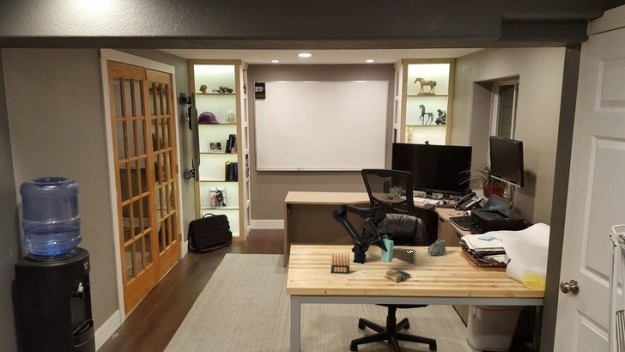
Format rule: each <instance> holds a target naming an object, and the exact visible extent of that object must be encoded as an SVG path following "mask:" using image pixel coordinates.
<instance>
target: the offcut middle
mask: <svg viewBox="0 0 625 352" xmlns="http://www.w3.org/2000/svg"><path fill="white" fill-rule="evenodd" d="M384 275H385V276H388V277H390V278H393V279H395V280H397V279H400V278H401V277H400V278H395V277H393V276H390V275H388V274H386V272H385V273H384Z"/></svg>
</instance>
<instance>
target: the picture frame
mask: <svg viewBox="0 0 625 352" xmlns="http://www.w3.org/2000/svg"><path fill="white" fill-rule="evenodd" d="M407 251H408V252H409V251H413V252H411V253H410V252H409V253H408V252H407ZM415 254H416V253H415V249H413V248H412V249H411V248H402V247H393V257H392V260H394V259H397V260H399V261H401V262H397V261H395V262H393V261H392V262H386V261H384V260H382V261H383V263H387V264H388V263H389V264H399V265H400V264H401V265H410V266H411V265H414V266H416V255H415ZM402 261H403V262H402Z"/></svg>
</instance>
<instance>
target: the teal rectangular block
mask: <svg viewBox="0 0 625 352" xmlns="http://www.w3.org/2000/svg"><path fill="white" fill-rule="evenodd" d="M394 241H395V240H391V239H390V240H388V239H386V238H385V239H383V243H384V244H385V246H386V248H387V252H386V251H384V250H383V249H381V248H380V249H381V250H380V251H381V253H380V260H381V261H385V263H387V262H393V259H392V257H393V248H394Z"/></svg>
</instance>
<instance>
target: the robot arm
mask: <svg viewBox="0 0 625 352" xmlns="http://www.w3.org/2000/svg"><path fill="white" fill-rule="evenodd" d="M348 213H351V214H355V215H357V216H358V217H359V218H361V219H362V220H365V221H364V226H367V225H368V227H369V229H370V230H371V231H370V234H372V235H373V236H371V237H369V238H368V239H367V238H366V236H365V235H364V236H361V235H360V233H359V232H358V231H357V230H356V229H355V227H354V226H353V224H352V223H351V222H350V221H349V219H348ZM331 215H332V218H333V220H335V222H338V223H340V224H341V225H342V227H343V228H344V229H345V231H346V232H347V234H348V235H349V236H350V238H351V239H352V240H353V247H352V248H351V252H352V253H353V260H352V263H356V264H361V265H363V264H364V263H365V262H366V261H367V254H366V253H367V252H368V250H369V248H370V246H372V245H374V246H377V247H378V248H379V249H383V250H384V251H386V252H387V248H386V246H385V244H384V243H383V239H385V238H386V239H388V240H391V239H392V238H393V237H394V236H396V233H395V231H394V230H392V229H393V227H392V225H391V224H386V225H385V227H384V226H383V225H381V224H382V222H383V221H384V220H385V219H386V218H387V217H388V216H387V213H386V212H385V211H384V210H381V208H377V209H376V210H373V208H371V207H370V208H369V207H360V206H356V205H353V204H350V203H343V204H342V205H340V206H339V207H338V208H336V209H334V210H333V211H332V214H331Z"/></svg>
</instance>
